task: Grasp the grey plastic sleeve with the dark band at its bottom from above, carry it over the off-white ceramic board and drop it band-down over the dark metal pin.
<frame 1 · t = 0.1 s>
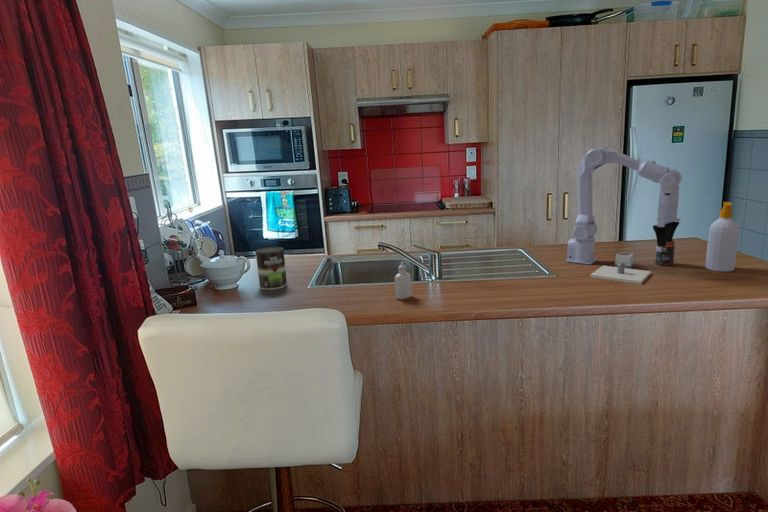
hand: (664, 243, 165), 10 cm above the worktop, fingers open, 7 cm apart
sleeve: (623, 267, 174), on the worktop
soap bottle: (719, 269, 166), on the worktop
coffee can: (273, 286, 175), on the worktop
eye dropper bottle: (403, 297, 155), on the worktop
pin board: (620, 275, 164), on the worktop
supplement bottle: (663, 264, 175), on the worktop
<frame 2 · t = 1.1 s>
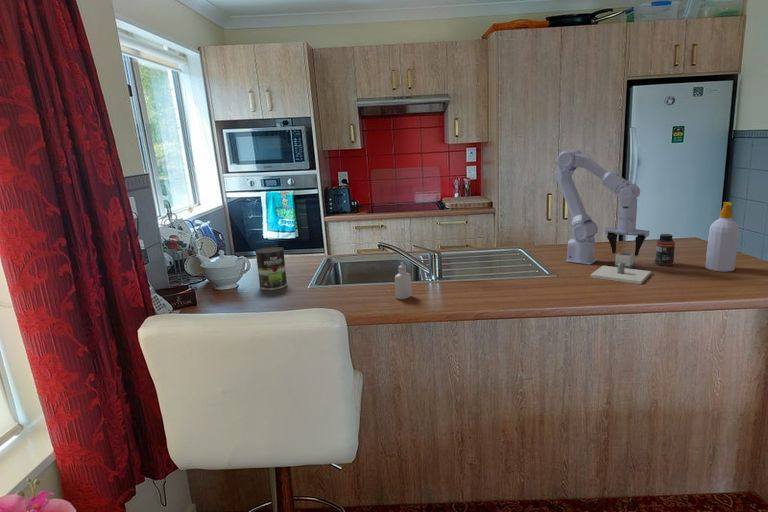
hand: (625, 254, 173), 5 cm above the worktop, fingers open, 7 cm apart
nothing on the worktop moved.
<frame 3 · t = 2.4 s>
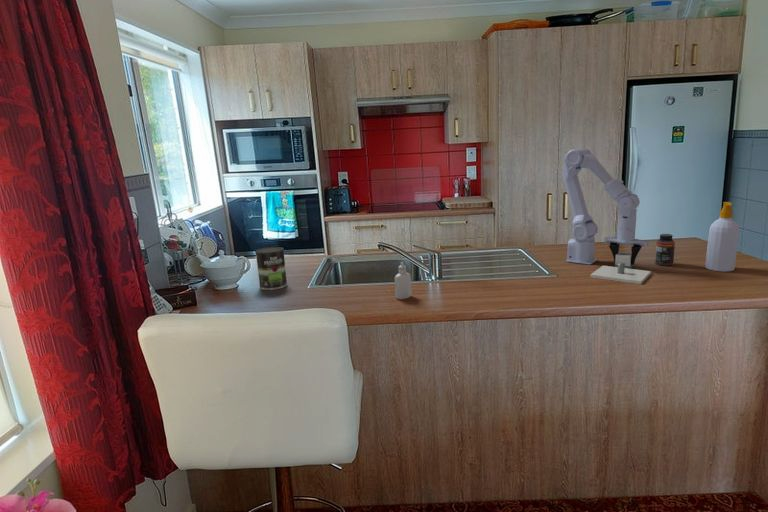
hand: (624, 263, 174), 1 cm above the worktop, fingers closed on sleeve, 5 cm apart
sleeve: (623, 267, 174), on the worktop, touching gripper
everything else where it was.
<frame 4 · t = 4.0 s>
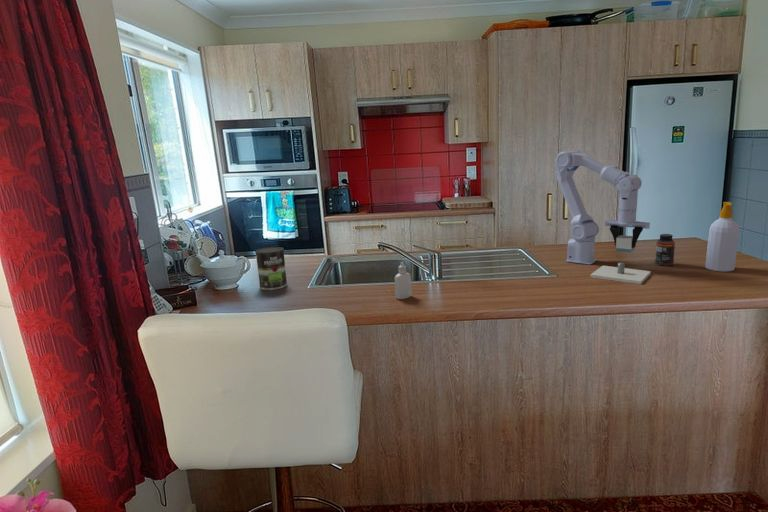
hand: (625, 246, 170), 8 cm above the worktop, fingers closed on sleeve, 5 cm apart
sleeve: (624, 250, 171), point 7 cm above the worktop, touching gripper
everything else where it was.
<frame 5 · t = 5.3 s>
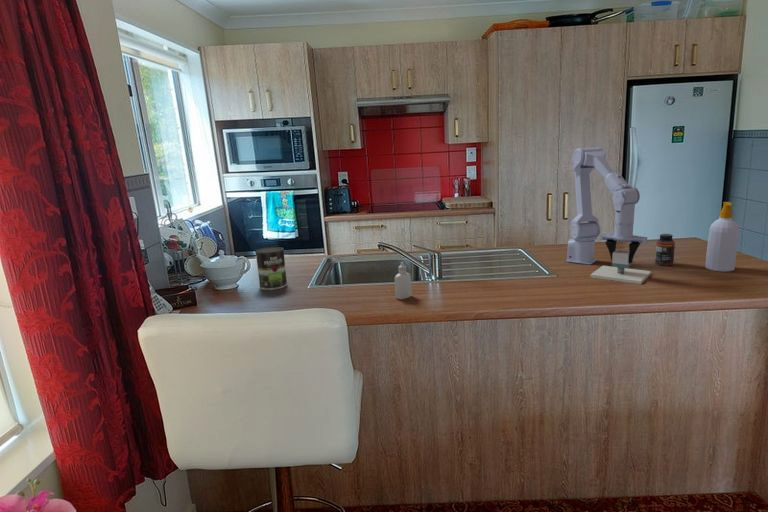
hand: (621, 261, 163), 5 cm above the worktop, fingers closed on sleeve, 5 cm apart
sleeve: (621, 265, 164), point 4 cm above the worktop, touching gripper
everything else where it was.
when the fingers open (4 cm above the worktop, at t = 6.0 s): sleeve drops 2 cm, resting on pin board.
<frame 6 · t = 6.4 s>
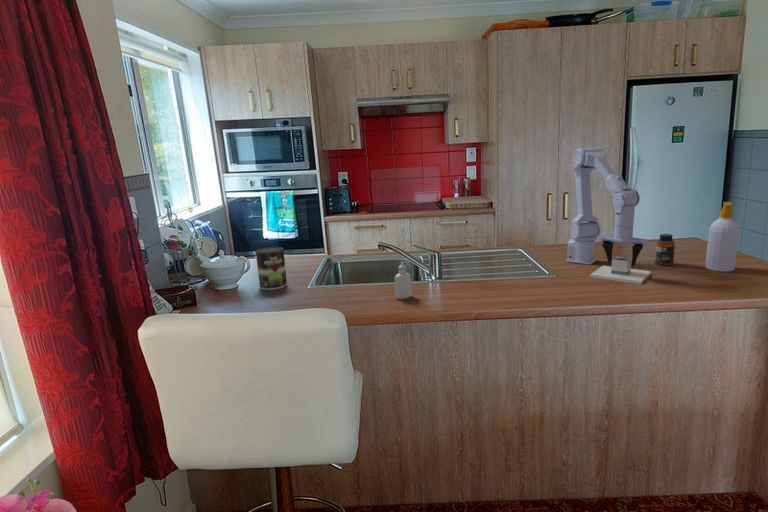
hand: (621, 263, 163), 4 cm above the worktop, fingers open, 7 cm apart
sleeve: (620, 272, 164), point 1 cm above the worktop, touching pin board
everything else where it was.
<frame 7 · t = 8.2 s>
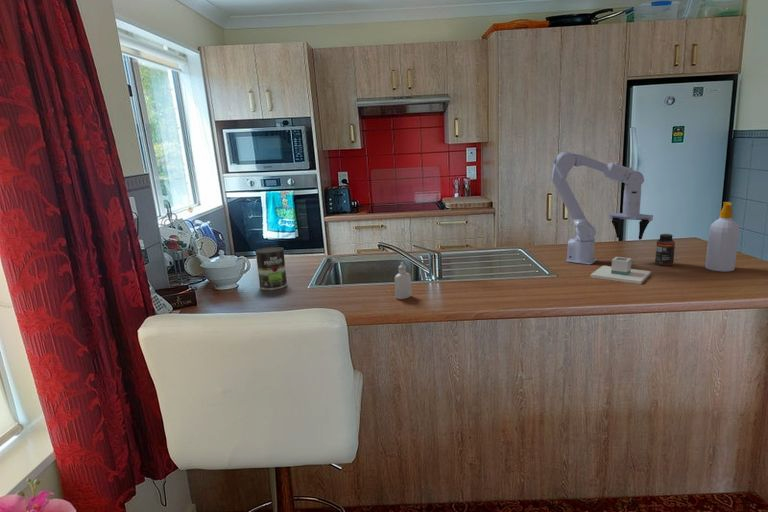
hand: (629, 238, 178), 9 cm above the worktop, fingers open, 7 cm apart
nothing on the worktop moved.
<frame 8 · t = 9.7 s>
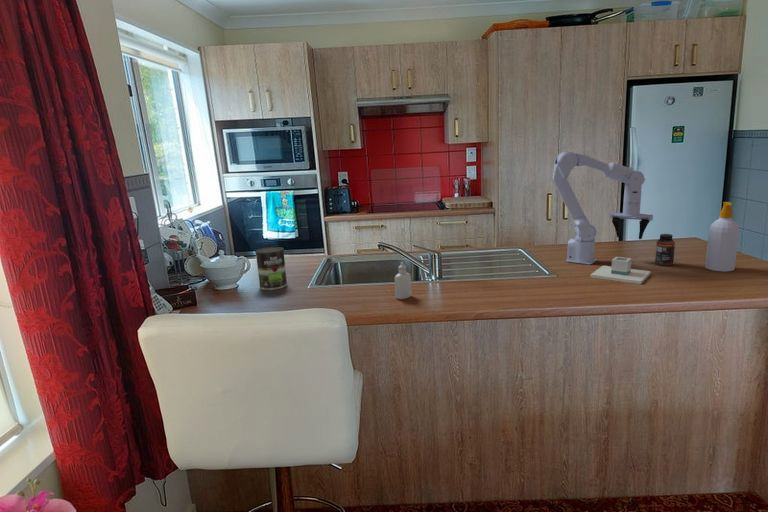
hand: (629, 237, 179), 9 cm above the worktop, fingers open, 7 cm apart
nothing on the worktop moved.
at the end: sleeve 0.2 cm off-centre on the pin board, point 1.0 cm above the pin board's base; sleeve tilted 0°; the gripper is holding nothing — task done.
